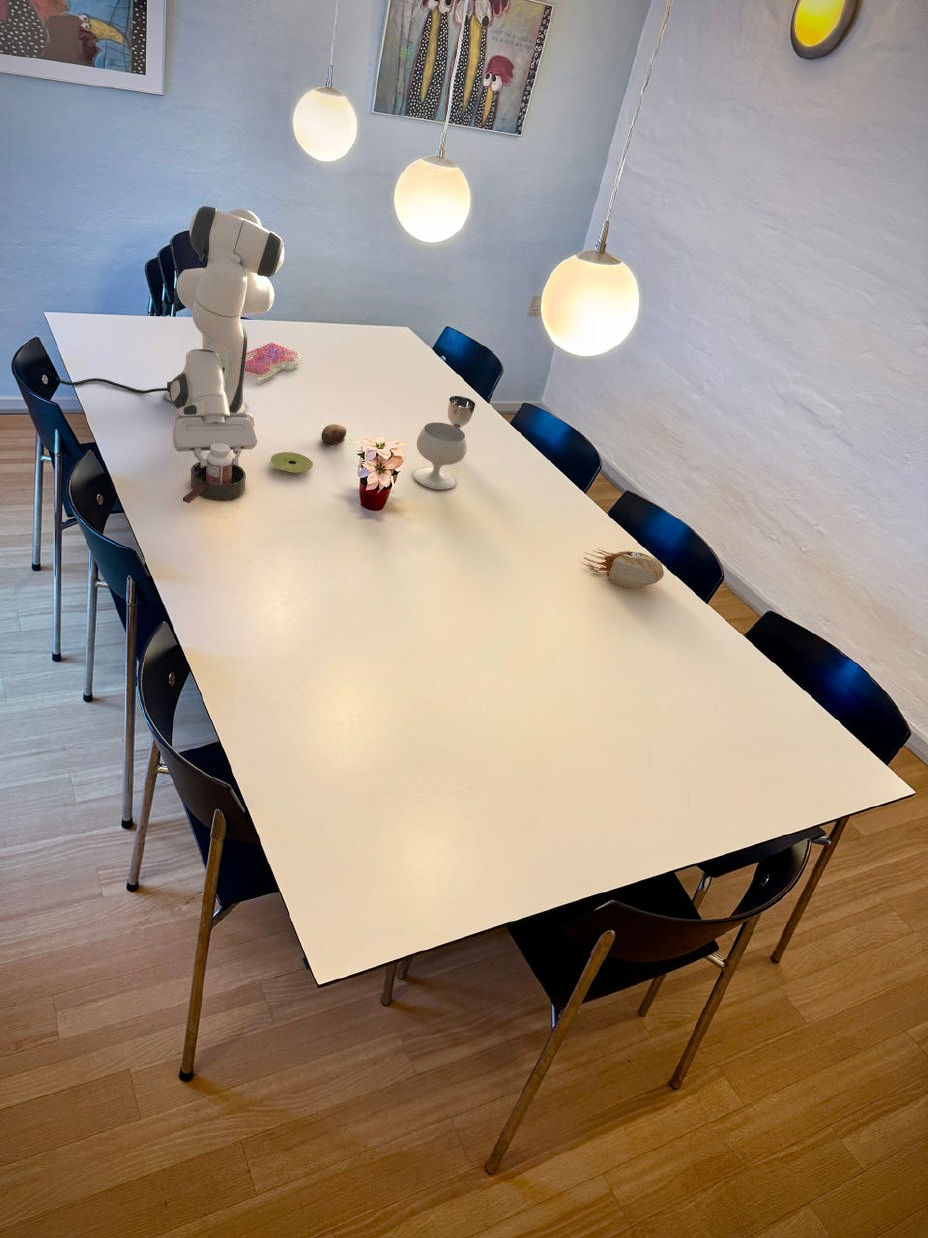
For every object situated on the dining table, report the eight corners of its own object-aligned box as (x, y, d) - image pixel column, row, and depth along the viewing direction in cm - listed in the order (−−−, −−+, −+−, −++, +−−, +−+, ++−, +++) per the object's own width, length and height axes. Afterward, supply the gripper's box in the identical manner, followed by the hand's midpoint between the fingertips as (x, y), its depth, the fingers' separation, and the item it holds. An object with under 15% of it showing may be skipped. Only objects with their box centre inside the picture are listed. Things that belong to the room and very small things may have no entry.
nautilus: (573, 578, 226) (584, 554, 238) (655, 603, 222) (662, 577, 235) (580, 551, 222) (591, 528, 234) (664, 576, 218) (670, 551, 231)
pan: (180, 490, 219) (180, 474, 216) (207, 470, 229) (208, 454, 227) (228, 507, 217) (229, 491, 215) (253, 486, 228) (255, 470, 225)
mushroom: (355, 432, 258) (345, 416, 253) (348, 452, 253) (337, 436, 249) (331, 436, 261) (321, 420, 256) (324, 456, 257) (313, 440, 252)
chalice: (403, 467, 254) (412, 419, 245) (448, 467, 260) (458, 421, 251) (419, 492, 244) (429, 443, 235) (465, 492, 250) (477, 444, 241)
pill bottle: (227, 480, 226) (230, 440, 220) (233, 492, 222) (236, 452, 216) (203, 480, 224) (204, 440, 217) (208, 493, 219) (210, 453, 213)
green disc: (277, 479, 233) (277, 472, 232) (264, 458, 241) (265, 452, 239) (317, 477, 238) (318, 471, 237) (304, 457, 246) (305, 451, 245)
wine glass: (469, 448, 273) (479, 403, 265) (457, 456, 267) (468, 410, 259) (446, 438, 275) (456, 393, 267) (435, 446, 269) (444, 400, 261)
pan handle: (182, 501, 209) (182, 497, 209) (202, 486, 216) (202, 482, 216) (189, 503, 209) (189, 500, 208) (208, 488, 216) (208, 485, 216)
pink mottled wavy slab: (261, 387, 276) (262, 372, 273) (220, 371, 279) (221, 356, 276) (310, 363, 300) (312, 349, 297) (272, 349, 303) (273, 334, 300)
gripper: (249, 416, 228) (257, 468, 227) (167, 417, 218) (175, 471, 217) (255, 408, 222) (264, 461, 221) (172, 408, 212) (180, 464, 211)
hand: (219, 466), depth 219 cm, fingers closed on pill bottle, 6 cm apart
